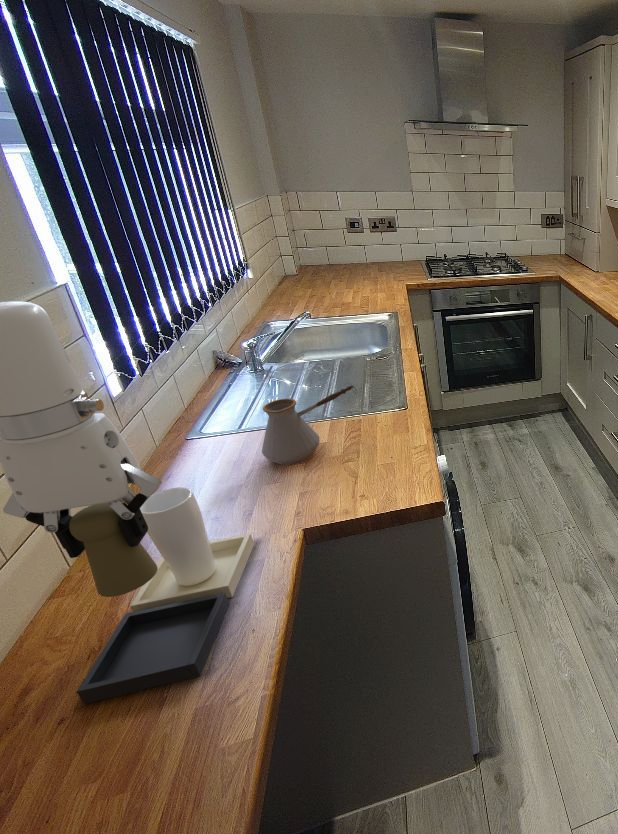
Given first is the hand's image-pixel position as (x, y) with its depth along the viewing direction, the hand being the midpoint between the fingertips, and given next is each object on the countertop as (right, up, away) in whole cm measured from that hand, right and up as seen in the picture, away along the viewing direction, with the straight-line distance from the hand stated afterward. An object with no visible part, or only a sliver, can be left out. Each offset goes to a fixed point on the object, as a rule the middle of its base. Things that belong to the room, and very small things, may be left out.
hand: (110, 543), depth 65 cm
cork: (0, -5, +3) cm, 6 cm away
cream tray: (-4, -12, +20) cm, 23 cm away
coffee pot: (-4, +4, +55) cm, 56 cm away
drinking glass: (-4, -11, +20) cm, 23 cm away
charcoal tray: (0, -17, +8) cm, 19 cm away
